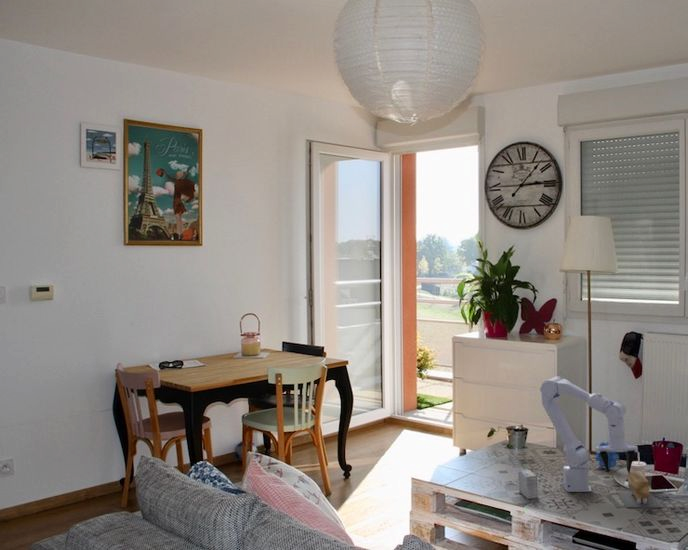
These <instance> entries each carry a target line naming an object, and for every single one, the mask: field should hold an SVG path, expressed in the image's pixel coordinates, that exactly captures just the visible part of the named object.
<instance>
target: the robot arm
mask: <svg viewBox="0 0 688 550" xmlns="http://www.w3.org/2000/svg"><path fill="white" fill-rule="evenodd" d="M539 390H540V393H541V405H542V407H543V408H544V410H545V412H546V414H547V416H548V417H549V420H550V422H551V423H552V426H553V427H554V429H555V430H556V432H557V434H558V437H559V438H560V440H561V442H562V444H563V454H564V456H565V460H566V464H567V465H564V466H563V467H562V476H563V477H562V480H563V482H562V483H563V487H564V489H565V491H566V492H568V493H575V492H577V493H578V492H579V493H580V492H581V493H583V492H584V493H585V492H586V493H587V492H590V493H591V492H592V488H591V486H590V479H589V477H590V476H589V475H590V474H589V464H588V461H590V458H591V452H590V450H589V449H588V448H587V447H586V446H585V445H584V444H583V442H582V441H580V440H579V439H577V437H576V435H575V434H574V432H573V430H572V428H571V426H570V424H569V422H568V421H567V418H566V416H565V415H564V413H563V411H562V410H561V408H560V405H559V404H558V402H559V398H560V395H564V394H565V395H566V394H568V395H571V396H573V397H575V398H578V399H579V400H582V401H584V402H586V403H587V406H588V407H589V408H591V409H593V410H595V411H597V412H599V413H601V414H603V415H605V417H606V419H607V434H608V435H607V436H608V442H609V445H607V446H599V445H598V446H595V450H596V451H597V453H600V455H601V457H602V459H603V462H604V465H605V467H604V469H605V472H606V473H609V472H610V471H609V470H610V469H609V467H608V455H607V452H616V453H625V456H626V457H625V458H626V471H627V473H628V472H630V468H631V464H632V462H633V461H634V460H635V458H636V453H638V452H639V447H638V446H637V445H627V444H626V441H625V417H624V416H625V414H626V412H627V411H626V406H625V405H624V404H623V403H622V402H621V401H614V400H612V399H609V398H607V397H604V396H602V393H600V392H598V393H595V392H593V393H590V392H588V391H586V390H584V389H583V388H582V387H579V386H578V385H575V384H574V383H572V382H570V381H569V380H568V379H565V378H563V377H561V376H557V375H555V376H553V377H551V378H549V379H546V380H543V381H542V383H541V386H540V388H539ZM596 451H595V452H596ZM597 453H596V454H597Z"/></svg>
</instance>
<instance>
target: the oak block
mask: <svg viewBox="0 0 688 550" xmlns="http://www.w3.org/2000/svg"><path fill="white" fill-rule="evenodd" d="M627 484H628V485H627V486H628V489H629V490H630V492H631V491H632V493H633V494H634V495H635V497H636V498H649V491H650V485H649V484H650V482H649V481H648V479H647V477H646V476H645V477H644V475H643V474H642V473H641V472H640V471H630V472H628V471H627Z"/></svg>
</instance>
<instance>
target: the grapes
mask: <svg viewBox="0 0 688 550" xmlns="http://www.w3.org/2000/svg"><path fill="white" fill-rule="evenodd" d="M607 445H609V441H607V442H603V441H602V442H600V443H599V445H598V446H607ZM595 453H596V455H595V458H594V459H595V461H596V462H598V466H599V467H600V468H605V465H604V462H603V459H602V457H601V455H600V453H597V451H596V449H595ZM607 455H608V467H609V470H611V468H616V466H617V461H618V460H619V459H620V456H619V454H618V453H617V452H607Z"/></svg>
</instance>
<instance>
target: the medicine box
mask: <svg viewBox="0 0 688 550" xmlns="http://www.w3.org/2000/svg"><path fill="white" fill-rule="evenodd" d="M518 487H519V488H518V489H519V494H522V496H524V497H525V498H526V499H528V500H530V499H531V498H532V499H538V498H539V490H538V489H539V488H538V487H539V486H538V475H536V474H535V473H533V472H532V471H531V470H529V469H526V470H524V469H523V470H519V471H518Z"/></svg>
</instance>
